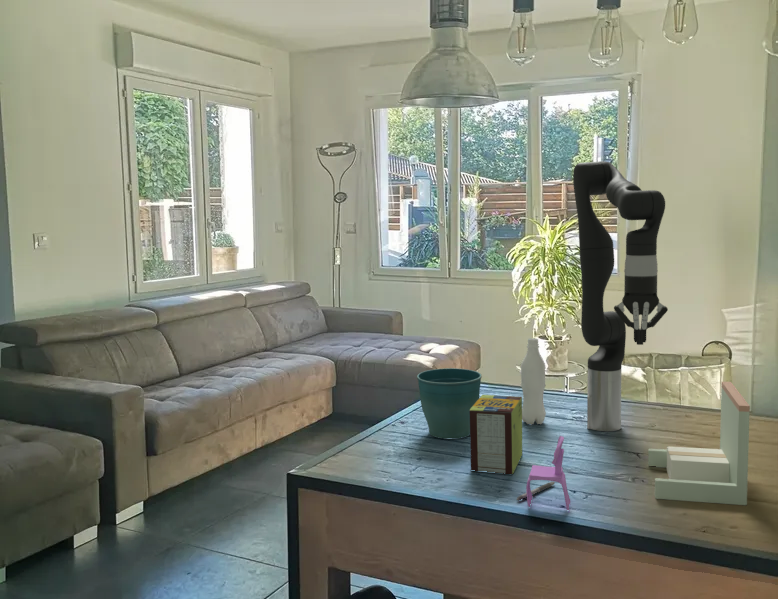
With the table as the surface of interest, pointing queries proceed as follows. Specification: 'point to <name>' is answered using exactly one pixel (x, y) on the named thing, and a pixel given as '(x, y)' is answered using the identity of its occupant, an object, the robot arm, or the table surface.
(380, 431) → the table surface
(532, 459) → the table surface
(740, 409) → the display stand
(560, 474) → the toy chair
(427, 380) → the flower pot
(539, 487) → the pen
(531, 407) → the water bottle
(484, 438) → the protein box
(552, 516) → the table surface
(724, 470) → the carton
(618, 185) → the robot arm
